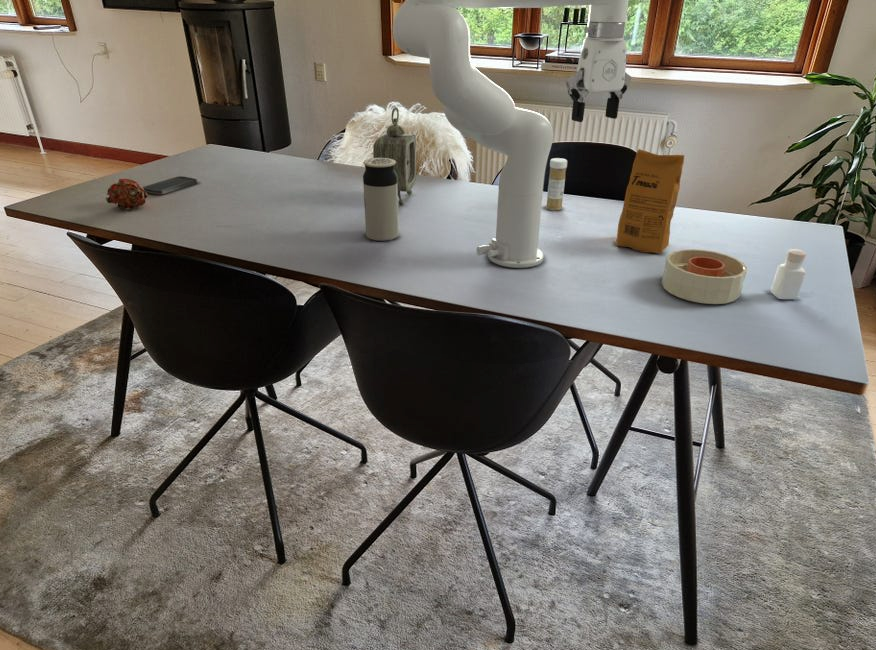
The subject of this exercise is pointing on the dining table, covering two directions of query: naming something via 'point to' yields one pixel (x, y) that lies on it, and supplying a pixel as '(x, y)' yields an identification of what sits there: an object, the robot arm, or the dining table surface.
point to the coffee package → (650, 202)
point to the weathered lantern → (399, 154)
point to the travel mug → (380, 199)
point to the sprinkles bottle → (556, 183)
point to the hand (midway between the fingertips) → (594, 119)
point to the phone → (169, 185)
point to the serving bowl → (703, 278)
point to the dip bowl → (705, 266)
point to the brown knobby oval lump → (126, 194)
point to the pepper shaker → (789, 276)
